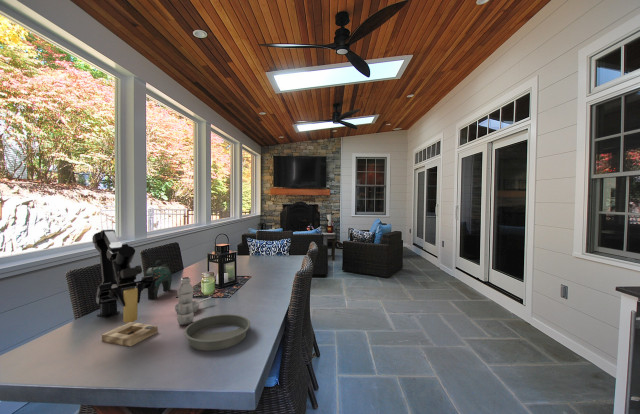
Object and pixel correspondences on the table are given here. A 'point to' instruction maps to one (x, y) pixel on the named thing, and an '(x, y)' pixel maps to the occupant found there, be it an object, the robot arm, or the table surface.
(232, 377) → the table surface
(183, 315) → the plastic bottle
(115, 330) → the wooden slotted board
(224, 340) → the cake pan
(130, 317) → the peg
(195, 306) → the saucepan
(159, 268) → the green elephant figurine
